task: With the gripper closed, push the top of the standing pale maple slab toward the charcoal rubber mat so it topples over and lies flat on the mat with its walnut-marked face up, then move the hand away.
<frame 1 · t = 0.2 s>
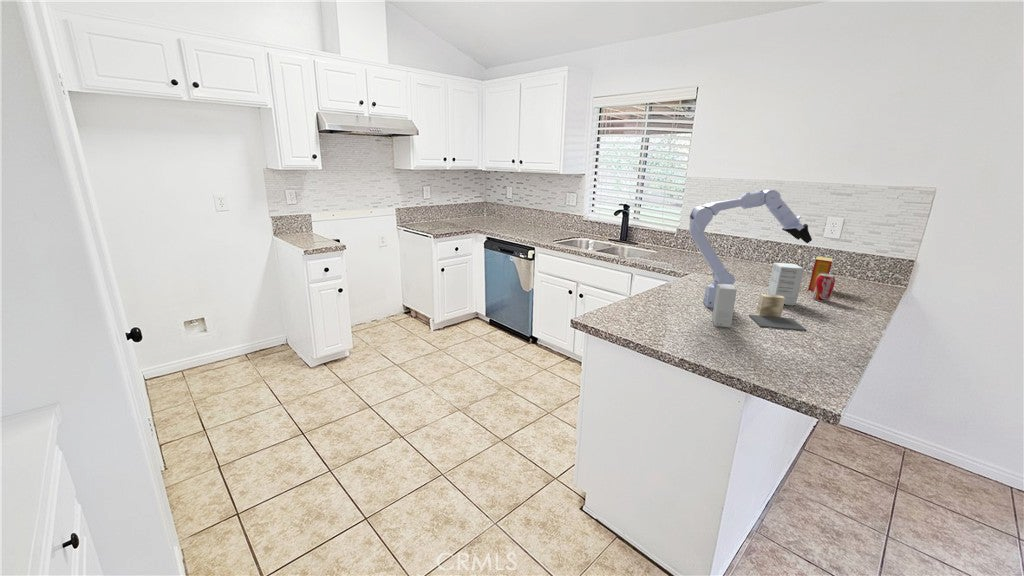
hand: (804, 239, 171), 30 cm above the counter, tool tilted 45°, fingers open, 7 cm apart
supplement box: (780, 302, 193), on the counter
soda can: (820, 300, 197), on the counter
baking soda box: (816, 289, 214), on the counter
maple slab: (768, 316, 174), on the counter
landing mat: (776, 323, 167), on the counter
skincare box: (720, 323, 164), on the counter
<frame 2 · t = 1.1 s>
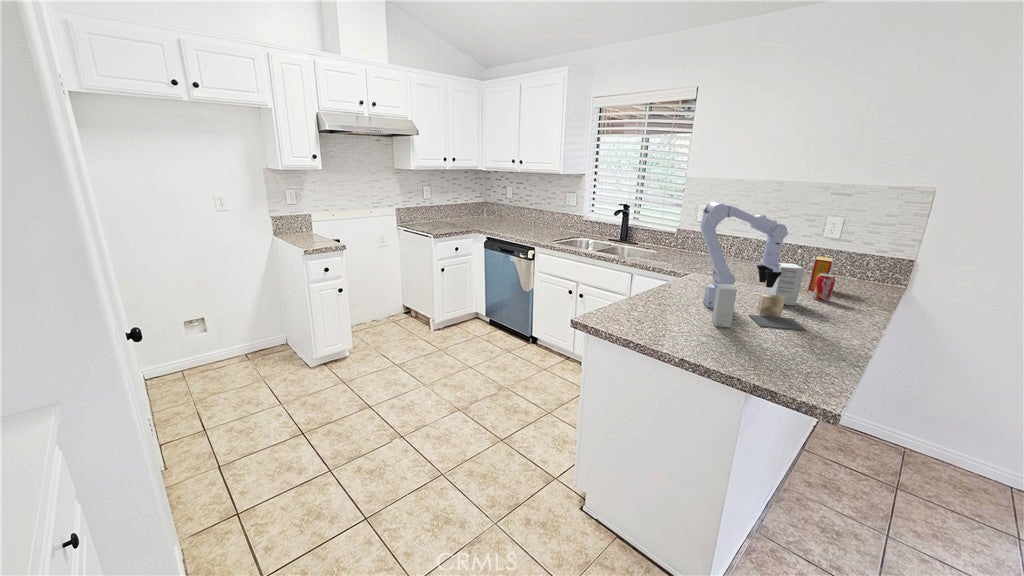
hand: (765, 284, 180), 11 cm above the counter, tool pointing down, fingers open, 7 cm apart
nothing on the counter moved.
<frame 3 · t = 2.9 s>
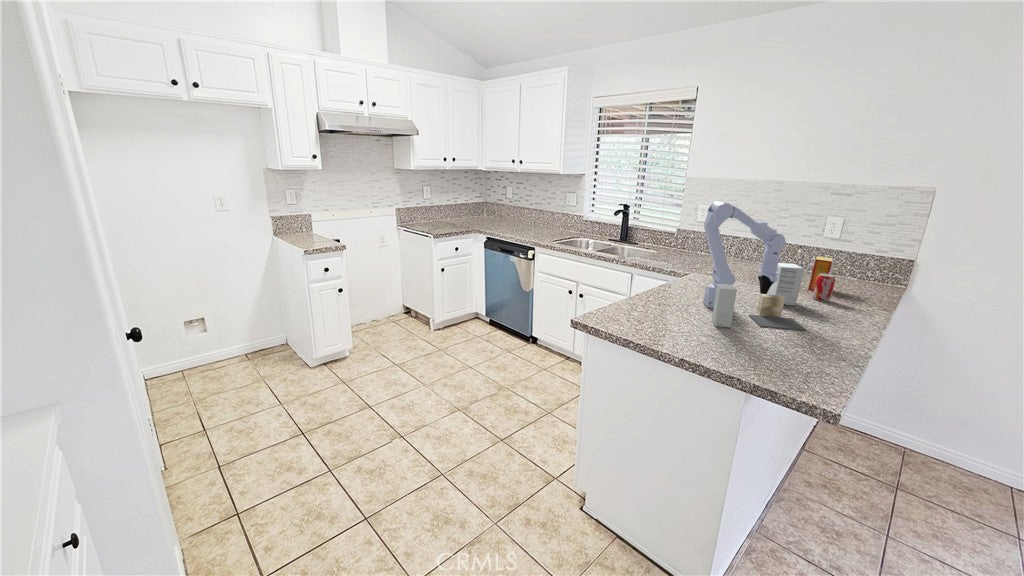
hand: (763, 293, 181), 7 cm above the counter, tool pointing down, fingers closed
nothing on the counter moved.
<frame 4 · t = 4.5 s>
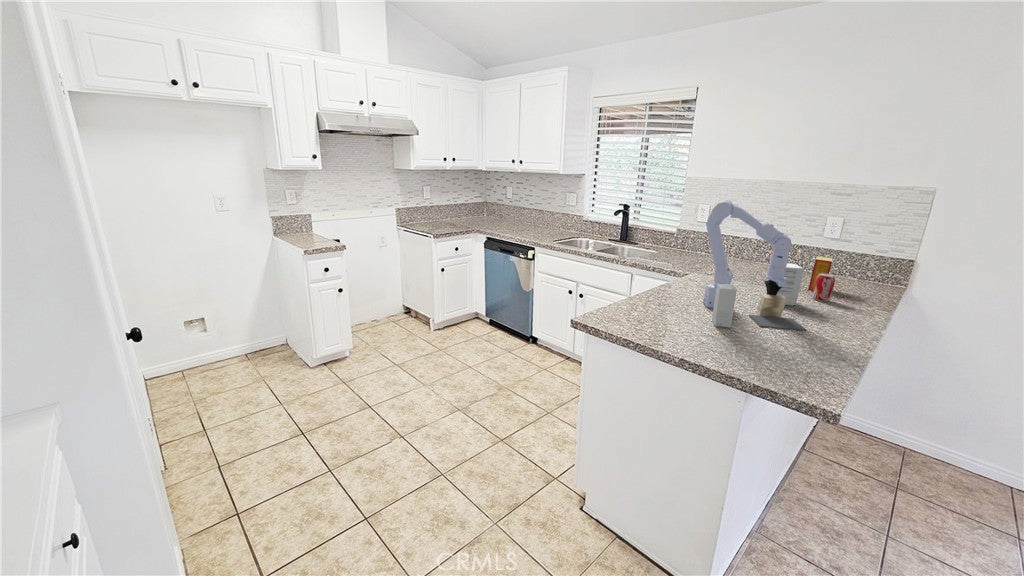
hand: (770, 299, 174), 7 cm above the counter, tool pointing down, fingers closed
maple slab: (768, 315, 174), on the counter, tilted 9°
everything else where it was.
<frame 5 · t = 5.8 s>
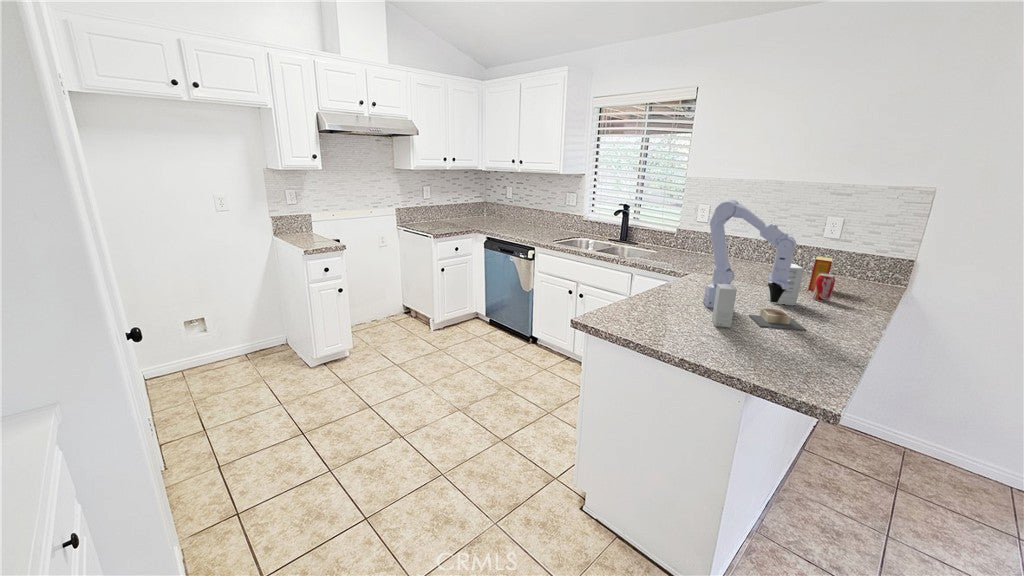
hand: (773, 301, 170), 7 cm above the counter, tool pointing down, fingers closed
maple slab: (770, 312, 173), point 2 cm above the counter, tilted 90°, touching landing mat
everything else where it was.
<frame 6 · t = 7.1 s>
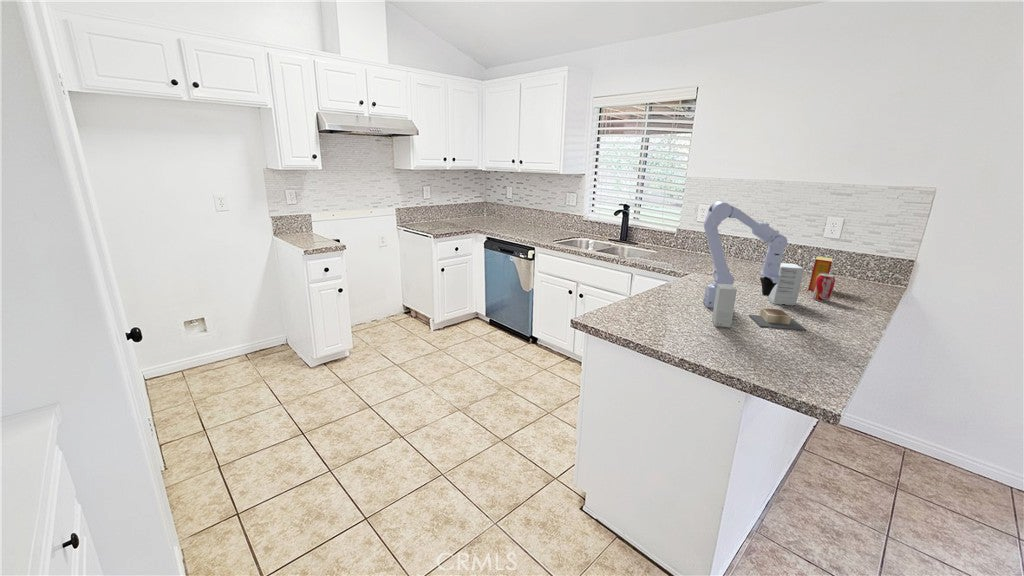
hand: (765, 295, 178), 7 cm above the counter, tool pointing down, fingers closed
nothing on the counter moved.
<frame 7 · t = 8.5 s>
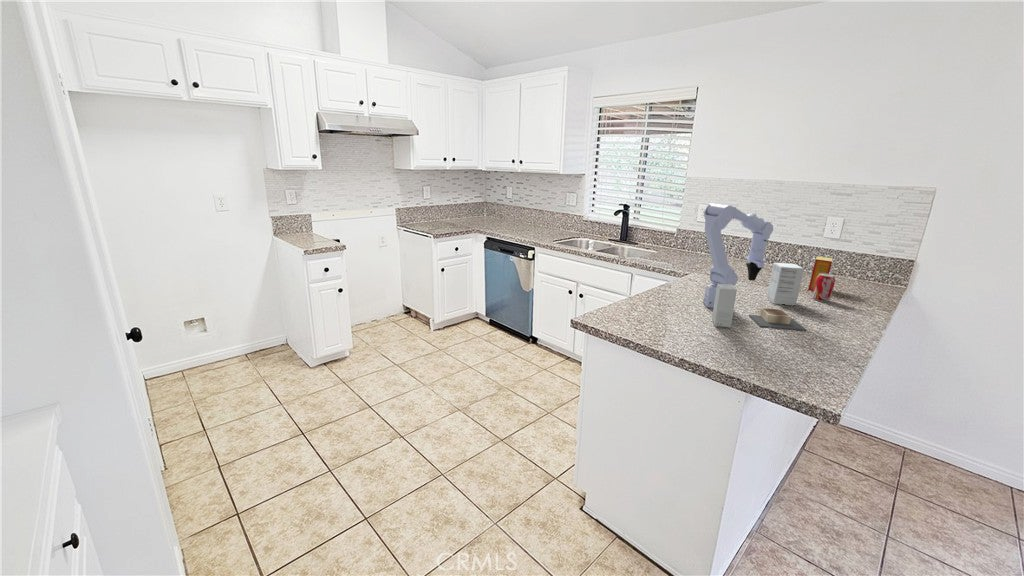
hand: (751, 280, 187), 10 cm above the counter, tool pointing down, fingers closed
nothing on the counter moved.
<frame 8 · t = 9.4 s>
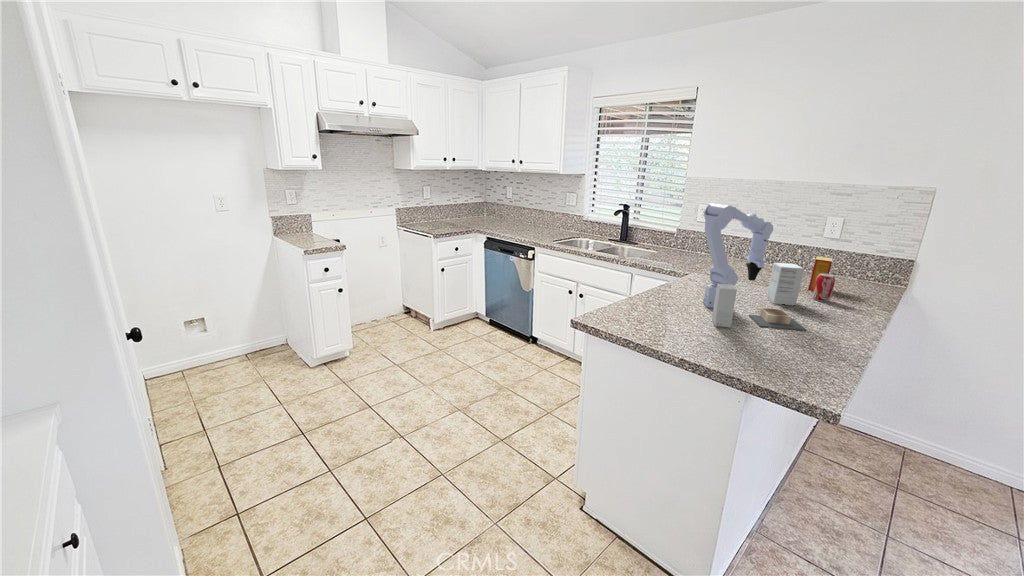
hand: (751, 280, 187), 10 cm above the counter, tool pointing down, fingers closed
nothing on the counter moved.
at the end: maple slab tilted 90°; maple slab touching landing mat; maple slab inside the target area (1.5 cm from its centre), point 2.0 cm above the counter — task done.
